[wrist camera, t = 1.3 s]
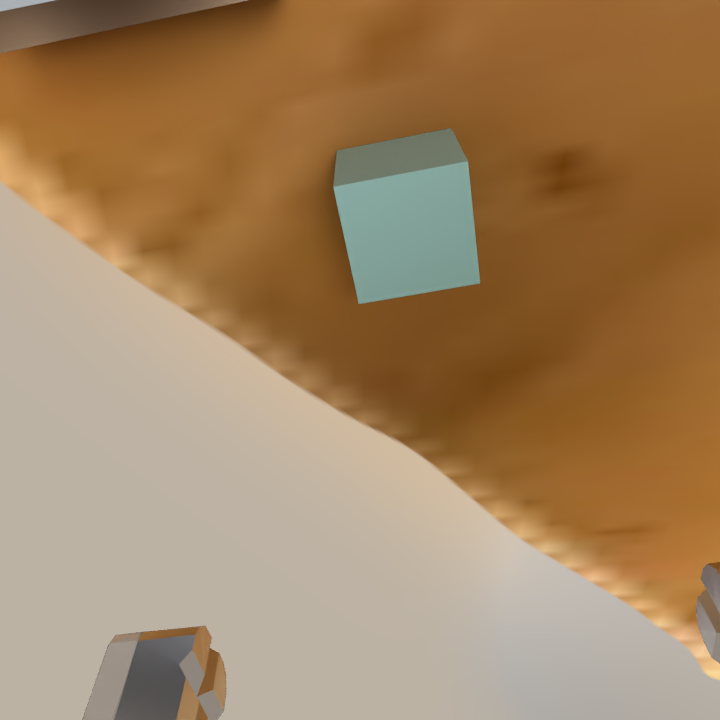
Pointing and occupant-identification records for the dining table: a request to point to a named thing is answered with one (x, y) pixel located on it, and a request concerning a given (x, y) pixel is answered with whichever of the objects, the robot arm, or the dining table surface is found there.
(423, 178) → the teal block
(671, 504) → the dining table surface
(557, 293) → the dining table surface
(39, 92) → the dining table surface
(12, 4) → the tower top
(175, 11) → the tower base
